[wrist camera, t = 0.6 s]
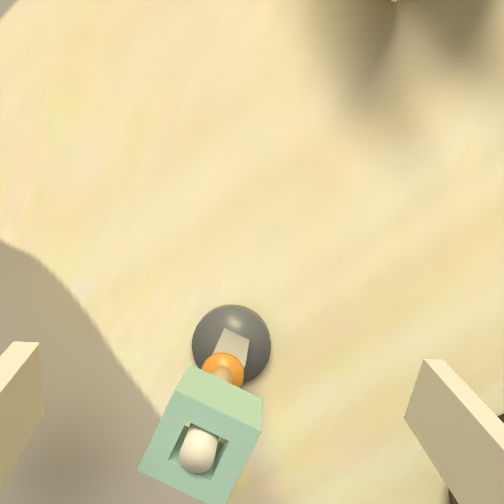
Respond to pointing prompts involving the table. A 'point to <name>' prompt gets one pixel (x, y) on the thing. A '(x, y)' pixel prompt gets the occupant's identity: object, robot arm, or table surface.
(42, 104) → the table surface
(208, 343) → the post
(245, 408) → the sleeve
